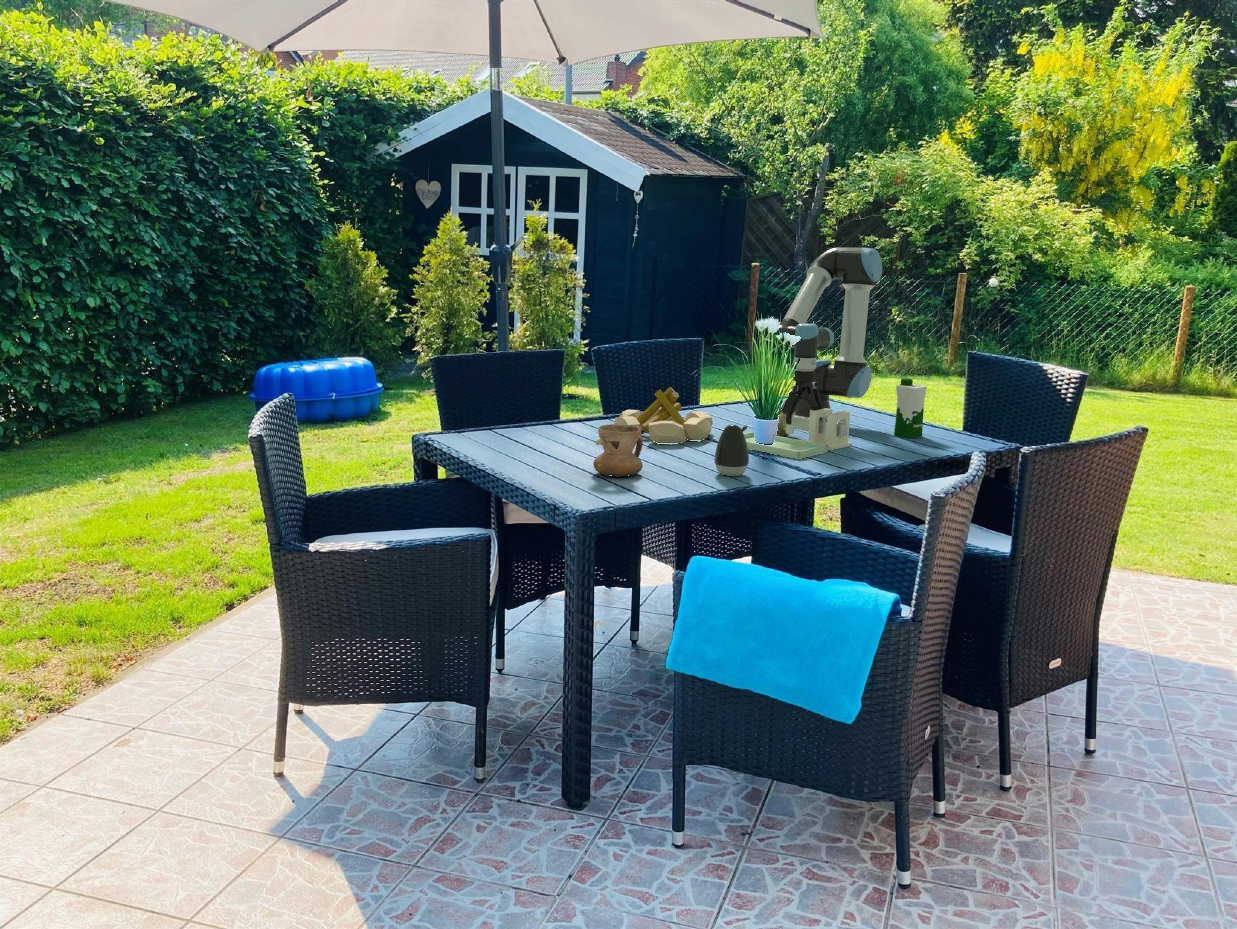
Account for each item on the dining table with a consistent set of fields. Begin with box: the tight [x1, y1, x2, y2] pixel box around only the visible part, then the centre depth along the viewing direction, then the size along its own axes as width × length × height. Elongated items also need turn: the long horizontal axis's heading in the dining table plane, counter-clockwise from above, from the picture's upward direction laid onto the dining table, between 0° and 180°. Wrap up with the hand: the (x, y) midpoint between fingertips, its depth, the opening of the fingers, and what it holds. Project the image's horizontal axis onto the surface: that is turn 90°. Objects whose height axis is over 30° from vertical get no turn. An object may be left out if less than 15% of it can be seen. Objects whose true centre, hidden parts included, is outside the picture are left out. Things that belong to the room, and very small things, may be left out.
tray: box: [743, 431, 829, 460], centre depth 357 cm, size 16×31×2 cm, turn 45°
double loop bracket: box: [808, 408, 853, 451], centre depth 363 cm, size 11×12×12 cm
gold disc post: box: [777, 402, 848, 438], centre depth 368 cm, size 28×12×12 cm, turn 45°
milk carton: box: [893, 377, 928, 439], centre depth 379 cm, size 9×9×20 cm
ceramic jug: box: [593, 423, 644, 477], centre depth 318 cm, size 18×14×14 cm
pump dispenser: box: [713, 423, 750, 477], centre depth 319 cm, size 10×10×15 cm
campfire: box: [613, 386, 714, 444], centre depth 375 cm, size 35×34×17 cm
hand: (801, 431), depth 371 cm, fingers open, 13 cm apart
